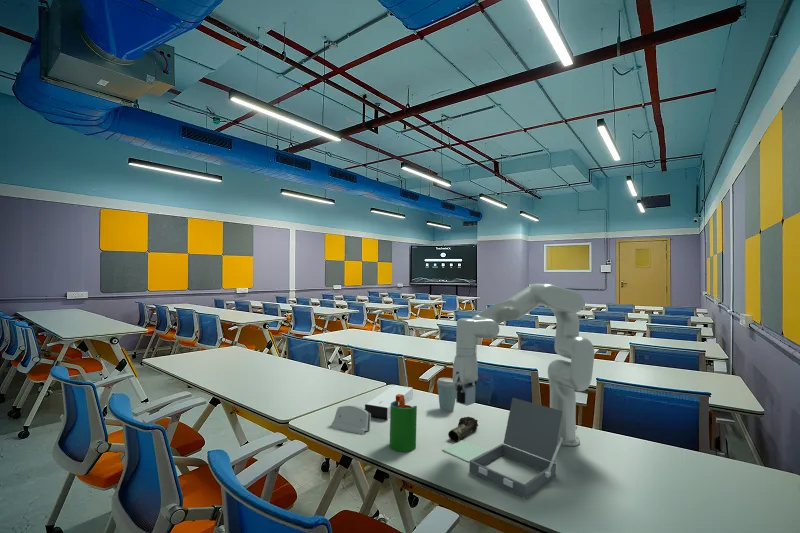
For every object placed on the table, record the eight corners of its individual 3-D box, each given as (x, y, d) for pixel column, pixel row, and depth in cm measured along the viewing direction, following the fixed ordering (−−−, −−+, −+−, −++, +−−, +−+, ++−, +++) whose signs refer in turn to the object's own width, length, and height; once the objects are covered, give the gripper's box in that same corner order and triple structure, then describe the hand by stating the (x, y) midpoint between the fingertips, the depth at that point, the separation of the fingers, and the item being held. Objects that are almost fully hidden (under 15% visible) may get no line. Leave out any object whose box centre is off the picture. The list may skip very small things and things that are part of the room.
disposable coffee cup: (443, 404, 189) (443, 374, 189) (462, 409, 182) (462, 378, 183) (432, 410, 180) (432, 379, 181) (452, 415, 174) (452, 383, 174)
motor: (419, 444, 143) (420, 392, 143) (409, 454, 135) (410, 398, 135) (395, 439, 147) (396, 388, 148) (384, 448, 139) (386, 394, 139)
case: (506, 450, 139) (506, 419, 140) (563, 472, 124) (563, 437, 124) (468, 472, 123) (468, 437, 123) (528, 501, 108) (528, 460, 108)
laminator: (387, 421, 166) (387, 407, 166) (362, 417, 170) (362, 403, 171) (412, 399, 197) (412, 387, 198) (391, 396, 202) (391, 384, 202)
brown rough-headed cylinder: (458, 443, 145) (458, 429, 145) (444, 439, 149) (444, 424, 149) (480, 430, 158) (480, 416, 158) (466, 425, 163) (466, 412, 163)
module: (464, 399, 142) (464, 382, 142) (475, 402, 139) (475, 385, 139) (456, 402, 139) (456, 385, 139) (467, 405, 135) (467, 388, 135)
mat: (461, 441, 147) (461, 440, 147) (487, 451, 138) (487, 450, 138) (442, 450, 138) (442, 449, 138) (468, 462, 130) (468, 461, 130)
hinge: (330, 427, 158) (335, 402, 161) (336, 427, 162) (341, 403, 165) (364, 435, 151) (368, 408, 154) (369, 434, 155) (374, 409, 158)
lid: (503, 443, 137) (504, 443, 137) (553, 462, 123) (554, 462, 124) (512, 397, 141) (513, 397, 142) (562, 411, 128) (563, 411, 128)
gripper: (471, 347, 148) (470, 393, 147) (443, 353, 136) (443, 403, 135) (487, 350, 142) (487, 398, 142) (460, 356, 131) (459, 408, 130)
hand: (465, 400), depth 139 cm, fingers closed on module, 5 cm apart
